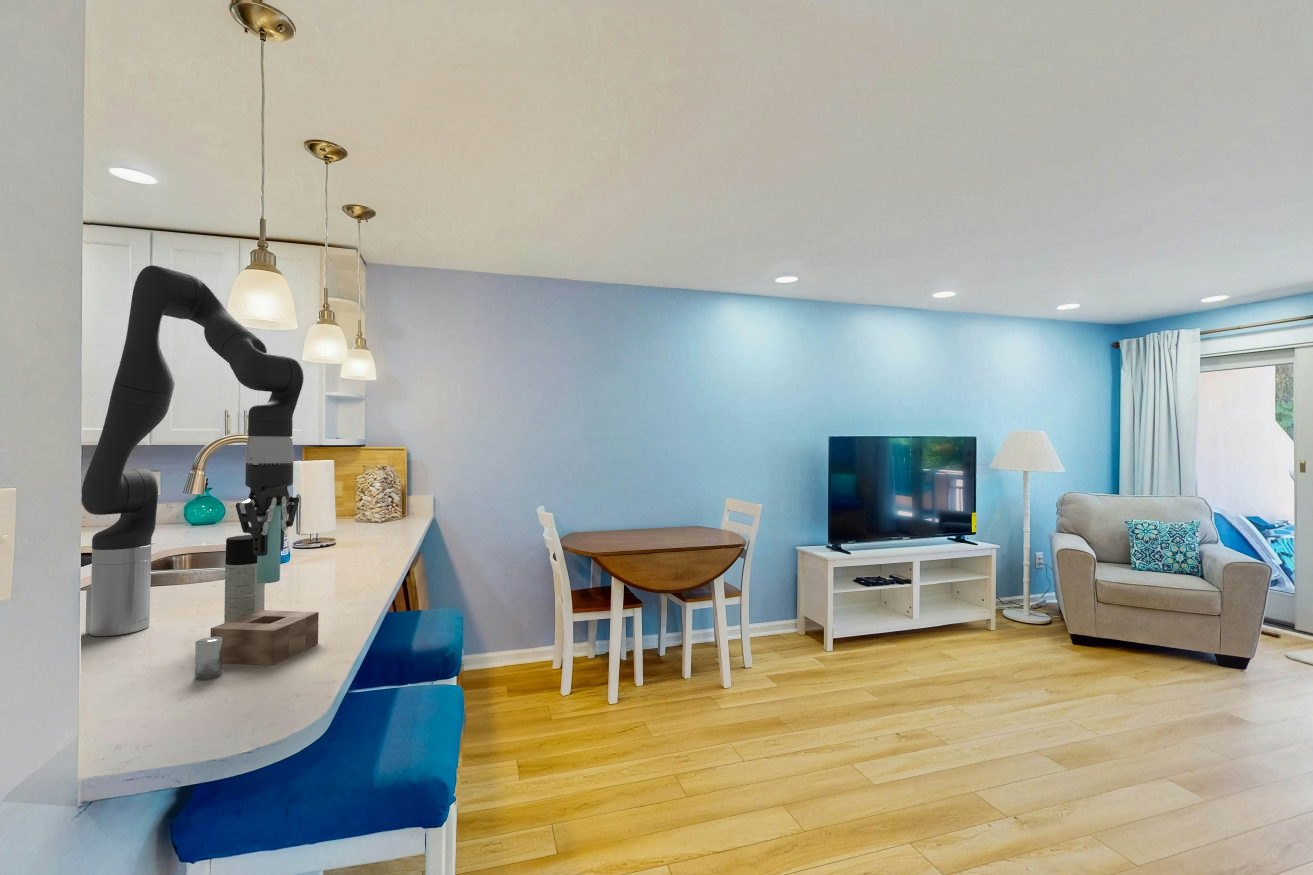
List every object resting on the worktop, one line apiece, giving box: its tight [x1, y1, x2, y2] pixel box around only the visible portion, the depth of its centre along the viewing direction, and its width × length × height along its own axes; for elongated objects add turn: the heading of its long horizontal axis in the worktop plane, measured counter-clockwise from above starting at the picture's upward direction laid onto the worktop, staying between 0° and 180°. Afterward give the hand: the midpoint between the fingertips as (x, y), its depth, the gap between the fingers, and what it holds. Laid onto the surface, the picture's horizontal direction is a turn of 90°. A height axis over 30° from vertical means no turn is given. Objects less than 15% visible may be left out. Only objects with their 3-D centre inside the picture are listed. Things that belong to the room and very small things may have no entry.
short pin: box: [194, 636, 223, 682], centre depth 101 cm, size 4×4×6 cm
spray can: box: [223, 534, 266, 624], centre depth 122 cm, size 7×7×20 cm
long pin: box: [257, 505, 281, 584], centre depth 113 cm, size 4×4×14 cm
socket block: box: [209, 609, 320, 666], centre depth 113 cm, size 12×12×6 cm
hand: (268, 553), depth 113 cm, fingers closed on long pin, 3 cm apart
